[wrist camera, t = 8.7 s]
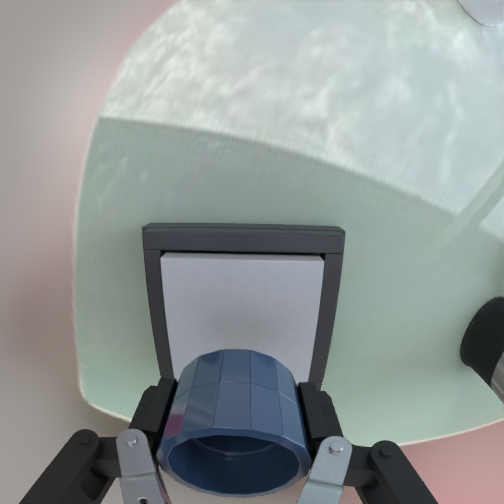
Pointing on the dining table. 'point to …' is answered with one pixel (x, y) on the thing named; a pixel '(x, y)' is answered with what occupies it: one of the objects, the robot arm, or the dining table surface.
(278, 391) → the blue cup
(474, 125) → the dining table surface
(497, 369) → the milk frother
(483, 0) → the foam cup
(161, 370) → the scale
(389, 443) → the robot arm
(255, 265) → the pan
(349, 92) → the dining table surface
